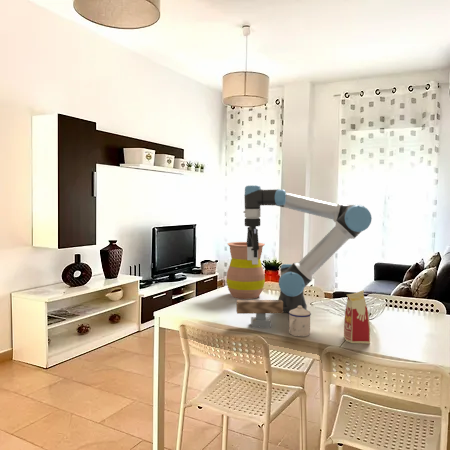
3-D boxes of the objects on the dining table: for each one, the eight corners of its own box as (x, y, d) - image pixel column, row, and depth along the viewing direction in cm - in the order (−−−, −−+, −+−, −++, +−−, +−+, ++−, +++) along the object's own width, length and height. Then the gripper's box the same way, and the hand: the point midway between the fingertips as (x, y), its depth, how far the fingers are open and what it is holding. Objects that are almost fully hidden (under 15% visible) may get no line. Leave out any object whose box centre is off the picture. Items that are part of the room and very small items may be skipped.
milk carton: (363, 336, 177) (364, 287, 176) (371, 343, 168) (372, 292, 167) (341, 336, 177) (342, 287, 176) (348, 343, 168) (349, 292, 167)
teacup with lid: (295, 328, 186) (296, 302, 186) (314, 333, 180) (315, 305, 180) (280, 335, 177) (280, 307, 176) (299, 340, 171) (300, 311, 171)
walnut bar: (281, 310, 192) (281, 299, 192) (282, 313, 188) (283, 302, 188) (236, 311, 191) (236, 300, 191) (237, 313, 187) (237, 302, 187)
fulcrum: (268, 323, 193) (268, 310, 193) (270, 327, 187) (270, 314, 187) (250, 323, 193) (251, 310, 193) (252, 327, 187) (252, 314, 187)
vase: (221, 292, 255) (222, 242, 253) (256, 290, 262) (256, 241, 260) (233, 301, 234) (233, 246, 232) (270, 299, 241) (271, 245, 239)
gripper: (240, 216, 218) (240, 258, 219) (249, 219, 193) (249, 266, 195) (255, 216, 219) (255, 258, 220) (265, 219, 194) (265, 265, 195)
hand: (252, 262), depth 207 cm, fingers open, 13 cm apart
